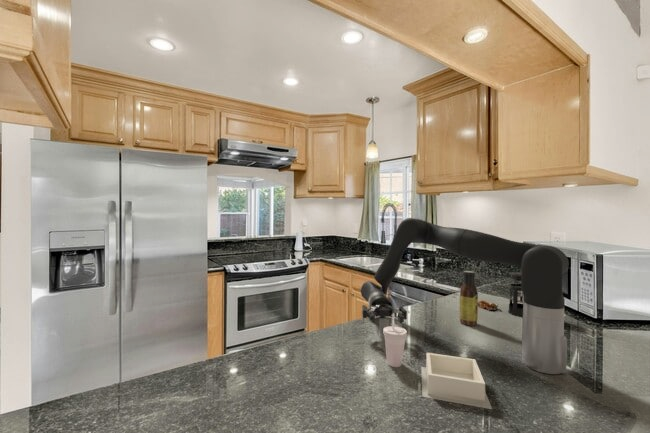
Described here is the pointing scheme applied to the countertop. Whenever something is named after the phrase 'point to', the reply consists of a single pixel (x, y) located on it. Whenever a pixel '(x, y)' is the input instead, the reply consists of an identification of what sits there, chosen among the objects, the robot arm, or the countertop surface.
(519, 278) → the french press
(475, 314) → the sauce bottle
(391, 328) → the smoothie
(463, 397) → the cream open box
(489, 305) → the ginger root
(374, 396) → the countertop surface
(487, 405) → the mat
